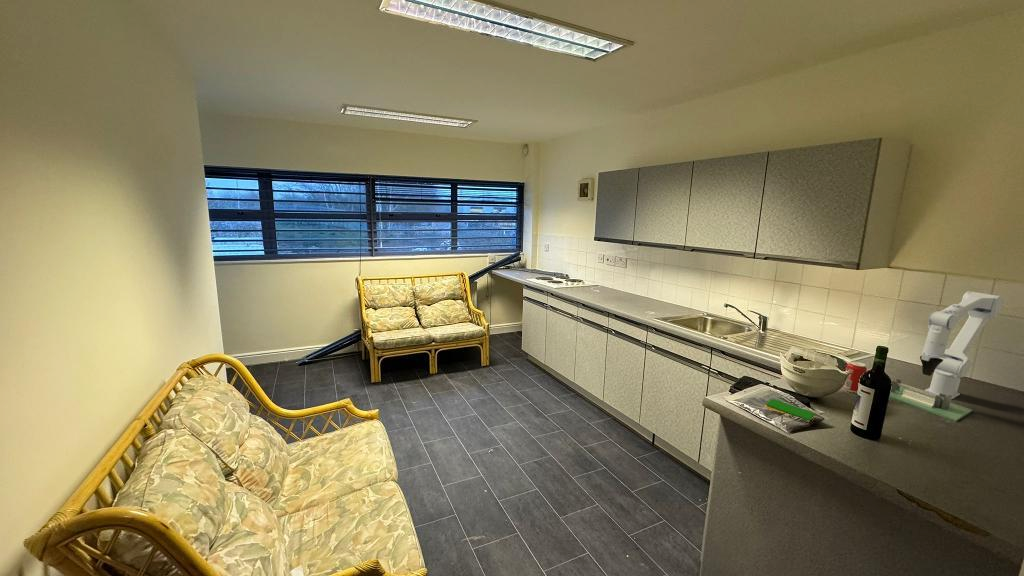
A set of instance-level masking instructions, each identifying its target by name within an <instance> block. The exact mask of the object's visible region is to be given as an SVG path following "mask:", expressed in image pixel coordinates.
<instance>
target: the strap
mask: <svg viewBox="0 0 1024 576" xmlns="http://www.w3.org/2000/svg"><path fill="white" fill-rule="evenodd" d="M897 385H898V386H901V387H904V388H907V389H910V390H913V391H916V392H919V393H922V394H925V395H928V396H931V397H934V398H935V397H936V394H933V393H930V392H927V391H925V389H924V390H923V389H920V388H917V387H914V386H911V385H908V384H905V383H903V382H901V383H899V382H898V383H897ZM937 396H939V395H937ZM940 397H942V396H940ZM942 400H944V397H942Z"/></svg>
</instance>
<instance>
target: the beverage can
mask: <svg viewBox="0 0 1024 576" xmlns="http://www.w3.org/2000/svg"><path fill="white" fill-rule="evenodd" d="M848 370H850V374H849V376H848V378H847V380H846V382H845V385H844V387H842V388H843V389H844V390H845V391H847V392H849V393H852V394H853V392H854V394H858V393H857V390H858V383H859V379H860V376H861V375H862V374H863V373H865V372H866V373H867V371H868V368H867V367H866V364H865V363H862V362H861V361H860V362H859V361H855V360H852V361H849V362H848V363H847V364H846V368H845V371H844V373H845V372H846V371H848Z"/></svg>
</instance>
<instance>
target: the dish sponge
mask: <svg viewBox="0 0 1024 576" xmlns="http://www.w3.org/2000/svg"><path fill="white" fill-rule="evenodd" d="M765 407H766V408H768V409H771V410H774V411H778V412H781V413H785V414H789V415H794V416H797V417H801V418H804V419H806V420H809V421H810V420H811V419H812V417H813V416H814V415H815V416H816V413H815V412H813V411H811V410H806V409H803V408H801V407H799V406H795V405H792V404H790V403H786V402H784V401H780V400H778V399H775V398H770V399H769V401H767V402H766V403H765V406H764V408H765Z"/></svg>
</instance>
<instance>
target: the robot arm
mask: <svg viewBox="0 0 1024 576" xmlns="http://www.w3.org/2000/svg"><path fill="white" fill-rule="evenodd" d="M961 298H962V299H961V301H960V302H959V303H958V304H956V303H953V304H951V305H948V306H947V307H946V308H945V309H942V310H940V311H939V310H937V311H933V312H931V313H930V315H929V316H928V319H927V324H928V325H927V329H928V332H927V335H926V338H925V343H924V345H923V349H922V350H921V354H922V355H920V356H919V359H920V362H921V366H922V367H921V369H922V371H921V372H922V374H923V375H924V376H928V377H931V376H932V378H931V382H930V386H929V387H928V388H926V389H924V391H927V392H930V393H933V394H936V395H940V393H942V394H945V395H946V396H948V395H952V399H951V400H953V399H955V398H957V397H958V396H960V392H958V389H959V386H960V383H961V378H963V377H965V376H967V375H968V374H969V373H970V368H971V366H972V359H971V358H969V356H968V355H967V354H968V352H969V350H970V348H972V346H973V344H974V342H976V341H975V340H976V339H977V337H978V336H979V334H980V333H981V331H982V329H983V328H984V326H985V324H986V323H987V322H988V320H989V319H996V317H997V316H998V315H999V313H1000V312H1001V310H1002V309H1003V307H1004V303H1005V298H1004V297H1003V296H1002V295H995V294H990V293H989V294H988V293H983V292H977V291H973V290H972V291H971V290H968V291H966V292H965V293H964V294H963V296H962V297H961ZM966 317H968V318H967V320H966V321H965V323H964V325H963V326H962V328H961V329H960V330H959V333H958V334H957V335H956V337H955V338H954V340H953V342H952V344H951V345H950V347H949V348H947V346H948V342H949V339H950V336H951V332H952V330H954V329H955V328H956V326H957V325H958V324H959V323H960V321H961V320H962V319H964V318H966Z"/></svg>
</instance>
